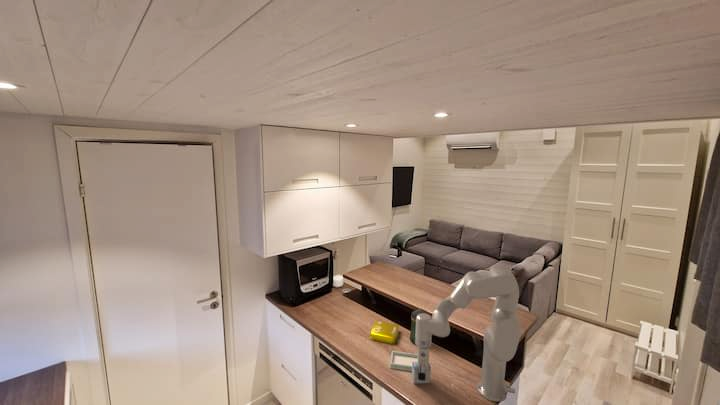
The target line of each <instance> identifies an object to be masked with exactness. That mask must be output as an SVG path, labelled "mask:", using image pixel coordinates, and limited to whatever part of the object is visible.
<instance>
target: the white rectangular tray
mask: <svg viewBox="0 0 720 405" xmlns="http://www.w3.org/2000/svg"><path fill="white" fill-rule="evenodd" d="M415 361H418V359H417V353H410V352H403V351H397V350H391V354H390V361H389V362H390V363H389V369H393V370H394V369H395V370H401V371H408V372H412V364H413V362H415Z"/></svg>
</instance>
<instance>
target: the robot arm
mask: <svg viewBox="0 0 720 405" xmlns="http://www.w3.org/2000/svg"><path fill="white" fill-rule="evenodd" d="M488 276H489V277H482V275H481V274H480V273H478V272H476V271H474V270H473V271H468V272H466V273H465V274H464V275H463V277H462V278H461V280H460V281H459V282H458V284H457V285H456V287H454V289H453V291H452V292H451V294H449V295H448V296H447V297H445V298H444V299H442V301H440V302H439V304H438V305H437V307H436V308H435V309H434V311H433V313H432V315H430V314H429V313H428V314H424V313H421V314H418V315H417V317H416V332H415V344H414V345H416V349H417V351H416V352H417V353H416V354H417V359H418V367H419V371H418V380H423V381H425V367H426V368H427V369H428V365H429V364H430V362H429V360H430V348H431V346H432V340H433V339H432V338H433V337H432V336H436V337H439V338H446V337H448V336H449V335H450V333H451V327H450V323H449V319H450V317H451V316H452V314H453V313H454V312H456V310H458V309H463V310H464V309H467V308H468V306H470V305H471V303H472V301H473V300H474V299H475V300H484V299H489V298H495V301H494V304H493V307H492V310H491V311H492V312H491V319H492V322H493V324H489V325H487V326H486V327H485V329H484V332H483V354H482V363H481V364H482V365H481V377H480V380H478V381H477V383H476V388H477V392H478V393H479V394H480V395H481V396H482V397H483V398H485V399H487V400H489V401H491V402H494V403H495V402H499V403H501V402H503V401H505V400H506V399H507V396H508V394H509V393H511V394H515V393H516V389H515V388H513V387H511V384H507V383H505V376H506V367H507V362H509V361H511V360H512V359H513V358H514V356H515V355H516V352H517V350H518V346H519V342H520V339H521V337H522V336H521V335H522V324H521V322H520V320H519V318H518V317H517V315H516V313H517V307H518V303H519V298H520V288H519V285H518V284H519V283H518V281H517V279H516V277H515V275H514V274H513V273H512V271H511V270H510V269H509V268H508V267H507V266H506V265H503V264H501V263H494V264H493V265H491V266H490V268H489V271H488ZM420 368H421V370H420Z"/></svg>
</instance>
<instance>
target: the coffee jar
mask: <svg viewBox="0 0 720 405" xmlns="http://www.w3.org/2000/svg"><path fill="white" fill-rule="evenodd" d="M421 313H424V314H428V315H429V313H428V311H427V310H426V309H423V308H418V309H415V310H413V311H412V312H411V315H410V316H411V317H410V318H411V326H410V335H409V340H410V342H411V343H413V344H414V345H416V344H415V332H416V317H417V315H418V314H421Z"/></svg>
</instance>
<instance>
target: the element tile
mask: <svg viewBox="0 0 720 405" xmlns="http://www.w3.org/2000/svg"><path fill="white" fill-rule="evenodd" d="M399 330H400V326H399V324H396V323H390V322H386V321H382V320H381V321H380V320H377V321H375V323H374V325H373V327H372V328H371V330H370V339H371V340H373V341H376V342H380V343H386V344H390V345H394V344H396V341H397V338H398V335H399V332H400V331H399Z"/></svg>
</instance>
